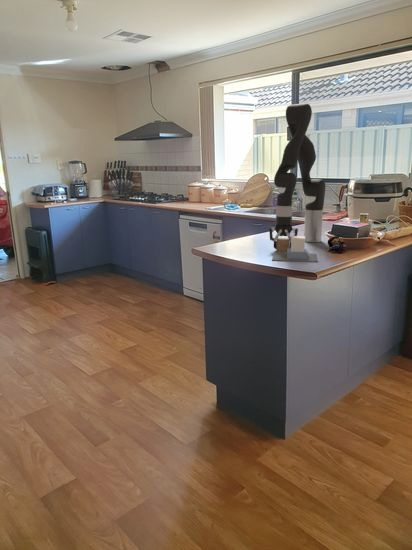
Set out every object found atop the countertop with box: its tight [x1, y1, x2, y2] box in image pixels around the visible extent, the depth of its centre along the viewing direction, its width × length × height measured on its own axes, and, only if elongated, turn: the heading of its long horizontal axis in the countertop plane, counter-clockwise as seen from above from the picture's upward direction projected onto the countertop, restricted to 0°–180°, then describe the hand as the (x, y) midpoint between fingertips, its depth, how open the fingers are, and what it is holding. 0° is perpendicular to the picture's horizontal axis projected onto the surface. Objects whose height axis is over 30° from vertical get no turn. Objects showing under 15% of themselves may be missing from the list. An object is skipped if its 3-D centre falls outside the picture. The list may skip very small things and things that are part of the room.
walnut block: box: [275, 237, 290, 253], centre depth 212 cm, size 6×6×6 cm
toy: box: [326, 235, 347, 254], centre depth 212 cm, size 9×6×15 cm
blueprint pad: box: [271, 248, 319, 263], centre depth 197 cm, size 16×20×4 cm
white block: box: [291, 235, 306, 252], centre depth 196 cm, size 6×6×6 cm
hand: (282, 249), depth 212 cm, fingers open, 6 cm apart
